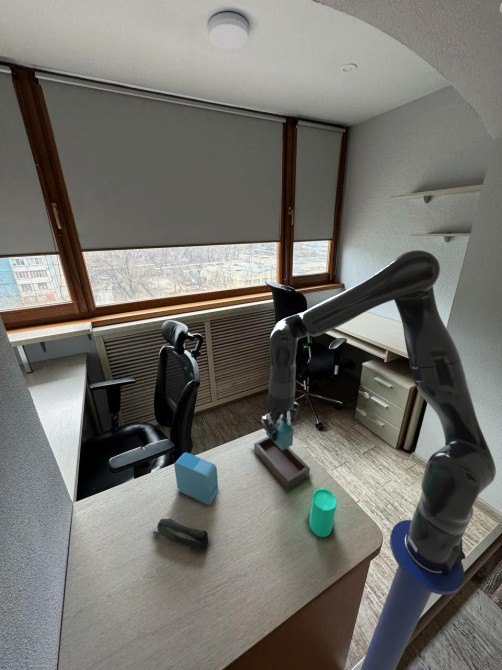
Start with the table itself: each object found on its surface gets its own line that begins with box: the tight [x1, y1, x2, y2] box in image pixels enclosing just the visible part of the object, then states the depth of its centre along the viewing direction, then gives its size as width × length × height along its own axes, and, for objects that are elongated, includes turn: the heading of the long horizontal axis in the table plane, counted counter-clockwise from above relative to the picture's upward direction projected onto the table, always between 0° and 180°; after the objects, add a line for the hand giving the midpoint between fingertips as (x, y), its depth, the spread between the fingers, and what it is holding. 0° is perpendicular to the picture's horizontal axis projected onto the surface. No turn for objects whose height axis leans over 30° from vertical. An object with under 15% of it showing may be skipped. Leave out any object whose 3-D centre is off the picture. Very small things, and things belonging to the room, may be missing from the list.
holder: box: [253, 436, 311, 491], centre depth 91 cm, size 18×9×4 cm, turn 33°
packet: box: [265, 420, 295, 451], centre depth 82 cm, size 4×8×6 cm, turn 34°
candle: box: [309, 487, 337, 538], centre depth 71 cm, size 6×6×12 cm
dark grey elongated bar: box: [152, 518, 209, 551], centre depth 69 cm, size 5×3×15 cm
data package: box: [173, 452, 219, 505], centre depth 80 cm, size 12×4×12 cm, turn 65°
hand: (279, 436), depth 83 cm, fingers closed on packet, 4 cm apart
